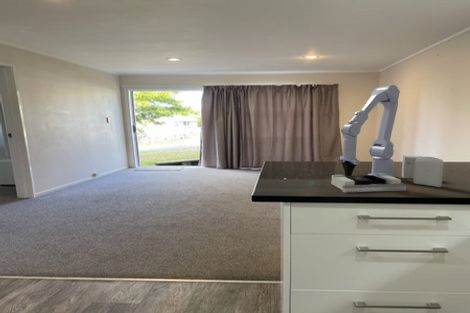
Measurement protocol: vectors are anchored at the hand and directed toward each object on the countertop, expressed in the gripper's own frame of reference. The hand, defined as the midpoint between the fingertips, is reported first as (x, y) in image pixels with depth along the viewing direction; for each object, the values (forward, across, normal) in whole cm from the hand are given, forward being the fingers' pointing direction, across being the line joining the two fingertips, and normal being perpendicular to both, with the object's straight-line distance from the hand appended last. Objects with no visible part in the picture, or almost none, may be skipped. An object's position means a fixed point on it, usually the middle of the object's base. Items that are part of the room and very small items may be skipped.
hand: (348, 176), depth 129 cm
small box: (+1, +1, +32) cm, 32 cm away
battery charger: (+2, +13, +1) cm, 13 cm away
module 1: (+1, +14, -10) cm, 17 cm away
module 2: (+1, +14, +10) cm, 17 cm away
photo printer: (+1, +15, +28) cm, 32 cm away
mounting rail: (+1, +21, 0) cm, 21 cm away
